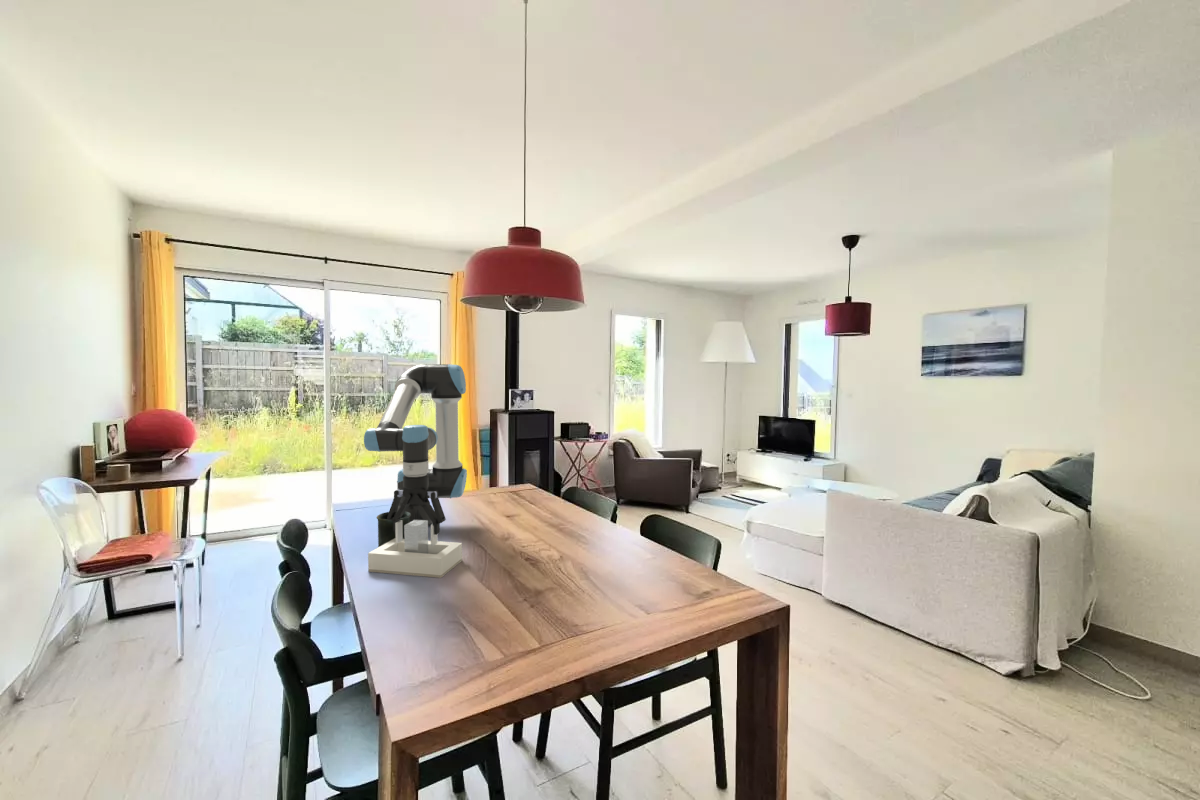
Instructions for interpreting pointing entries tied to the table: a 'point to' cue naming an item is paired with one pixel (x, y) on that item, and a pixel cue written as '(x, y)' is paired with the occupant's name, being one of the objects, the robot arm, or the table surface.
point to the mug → (389, 527)
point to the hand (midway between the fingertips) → (416, 543)
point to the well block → (415, 559)
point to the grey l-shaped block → (416, 536)
